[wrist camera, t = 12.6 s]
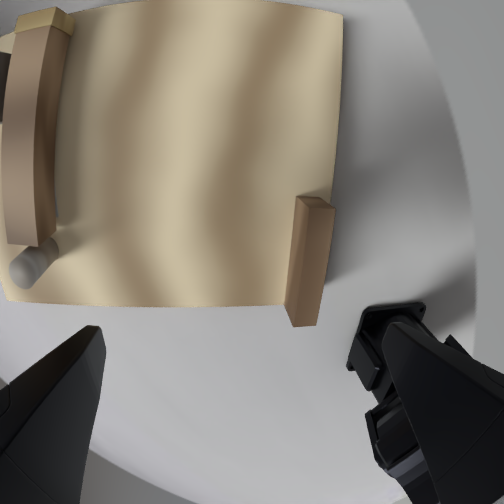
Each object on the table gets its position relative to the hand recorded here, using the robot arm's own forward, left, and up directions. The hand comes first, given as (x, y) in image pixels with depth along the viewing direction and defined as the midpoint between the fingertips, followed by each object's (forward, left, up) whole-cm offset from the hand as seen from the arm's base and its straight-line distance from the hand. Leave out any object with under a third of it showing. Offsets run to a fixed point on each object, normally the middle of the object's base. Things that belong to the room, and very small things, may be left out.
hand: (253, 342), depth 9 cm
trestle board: (+5, -4, -11) cm, 13 cm away
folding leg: (+11, -7, -9) cm, 15 cm away
